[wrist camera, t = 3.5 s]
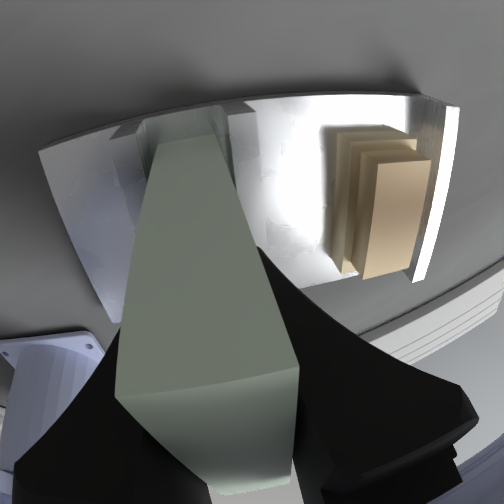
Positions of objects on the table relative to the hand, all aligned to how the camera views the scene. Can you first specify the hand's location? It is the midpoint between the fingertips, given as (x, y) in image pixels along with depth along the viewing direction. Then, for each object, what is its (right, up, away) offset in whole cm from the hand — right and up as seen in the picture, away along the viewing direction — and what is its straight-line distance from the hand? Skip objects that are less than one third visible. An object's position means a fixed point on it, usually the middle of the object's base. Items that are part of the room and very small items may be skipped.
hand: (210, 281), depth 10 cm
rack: (+2, +3, +4) cm, 5 cm away
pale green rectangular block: (-1, +2, +3) cm, 3 cm away
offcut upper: (+7, +3, +2) cm, 7 cm away
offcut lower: (+6, +3, +3) cm, 8 cm away
